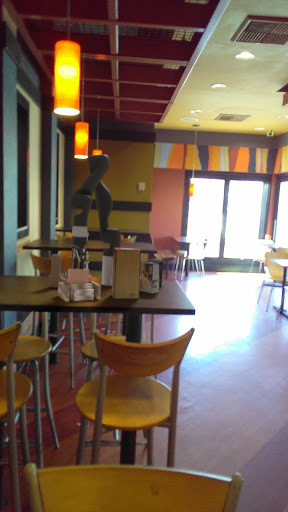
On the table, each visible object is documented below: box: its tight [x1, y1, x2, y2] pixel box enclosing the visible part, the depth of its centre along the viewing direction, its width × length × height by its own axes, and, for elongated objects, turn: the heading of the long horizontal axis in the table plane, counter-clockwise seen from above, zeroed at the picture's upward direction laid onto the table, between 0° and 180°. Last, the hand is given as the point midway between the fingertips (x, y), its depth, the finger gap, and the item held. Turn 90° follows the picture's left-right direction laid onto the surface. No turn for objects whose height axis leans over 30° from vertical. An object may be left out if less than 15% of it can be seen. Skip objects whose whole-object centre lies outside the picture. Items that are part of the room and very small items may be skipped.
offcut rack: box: [57, 280, 102, 303], centre depth 196 cm, size 18×13×7 cm
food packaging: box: [111, 247, 142, 300], centre depth 201 cm, size 13×9×25 cm
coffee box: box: [139, 261, 160, 294], centre depth 218 cm, size 9×6×16 cm
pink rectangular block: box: [67, 267, 90, 285], centre depth 197 cm, size 10×3×14 cm, turn 119°
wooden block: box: [50, 253, 68, 289], centre depth 216 cm, size 9×4×18 cm, turn 81°
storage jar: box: [146, 259, 164, 288], centre depth 235 cm, size 10×10×15 cm
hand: (78, 268), depth 196 cm, fingers open, 8 cm apart
